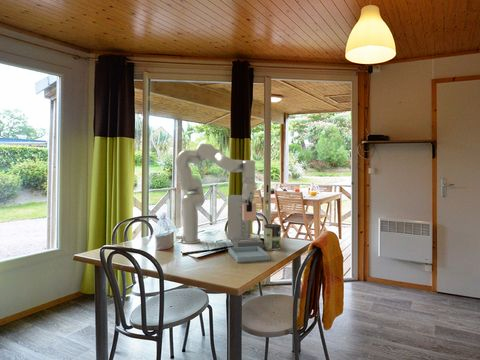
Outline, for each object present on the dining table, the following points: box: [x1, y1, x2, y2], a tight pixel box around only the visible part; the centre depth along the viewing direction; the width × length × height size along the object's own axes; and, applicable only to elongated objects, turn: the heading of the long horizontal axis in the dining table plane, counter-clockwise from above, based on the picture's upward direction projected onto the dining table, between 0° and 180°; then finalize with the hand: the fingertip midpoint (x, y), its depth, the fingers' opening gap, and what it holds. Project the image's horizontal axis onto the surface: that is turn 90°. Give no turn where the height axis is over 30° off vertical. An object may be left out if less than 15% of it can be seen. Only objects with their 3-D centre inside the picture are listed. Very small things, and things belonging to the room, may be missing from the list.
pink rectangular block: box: [242, 202, 258, 221], centre depth 202 cm, size 8×3×10 cm, turn 106°
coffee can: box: [263, 223, 282, 251], centre depth 206 cm, size 10×10×14 cm
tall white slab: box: [227, 194, 251, 241], centre depth 228 cm, size 14×6×30 cm, turn 73°
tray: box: [228, 246, 271, 264], centre depth 187 cm, size 18×20×3 cm
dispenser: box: [232, 236, 264, 250], centre depth 205 cm, size 16×12×6 cm
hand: (248, 210), depth 202 cm, fingers closed on pink rectangular block, 2 cm apart
